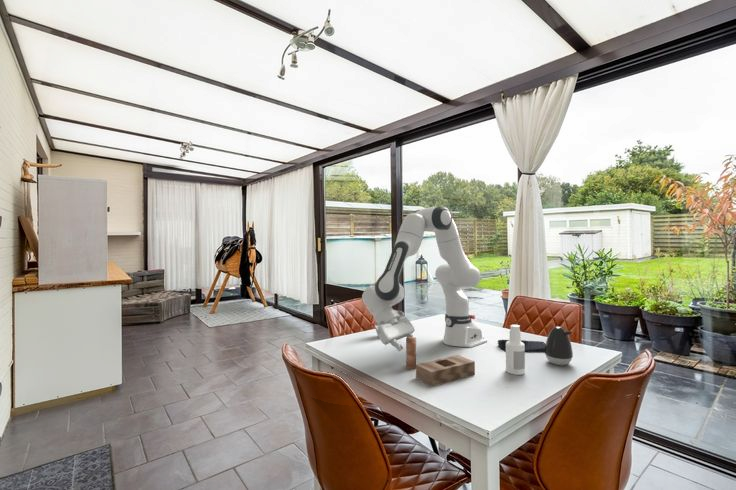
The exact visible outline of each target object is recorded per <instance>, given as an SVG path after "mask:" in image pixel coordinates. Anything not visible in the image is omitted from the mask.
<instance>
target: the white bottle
mask: <svg viewBox="0 0 736 490" xmlns="http://www.w3.org/2000/svg"><path fill="white" fill-rule="evenodd" d="M509 327H510V329H509V339H508V340H509V341H507V342H506V351H505V371H506V372H507V373H508V374H510V375H516V376H517V375H518V376H522V375H524V374H525V372H526V371H525V370H526V364H525V363H526V356H525V355H526V352H525V344H524V343H523V342H521V340H522V338H521V325H519V324H511V325H509Z"/></svg>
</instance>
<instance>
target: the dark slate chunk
mask: <svg viewBox="0 0 736 490" xmlns="http://www.w3.org/2000/svg"><path fill="white" fill-rule="evenodd" d="M509 340H510V339H498V340H497V345H498V348H499V349H500V350H503V352H506V342H507V341H509ZM521 342H523V343H524V344H525V353H527V352H526V351H529V353H531V352H532V351H533V353H534V352H535V351H536V352H538V351H540V352H545V345H546V342H544V341H538V340H537V341H535V340H524V339H521Z"/></svg>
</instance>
